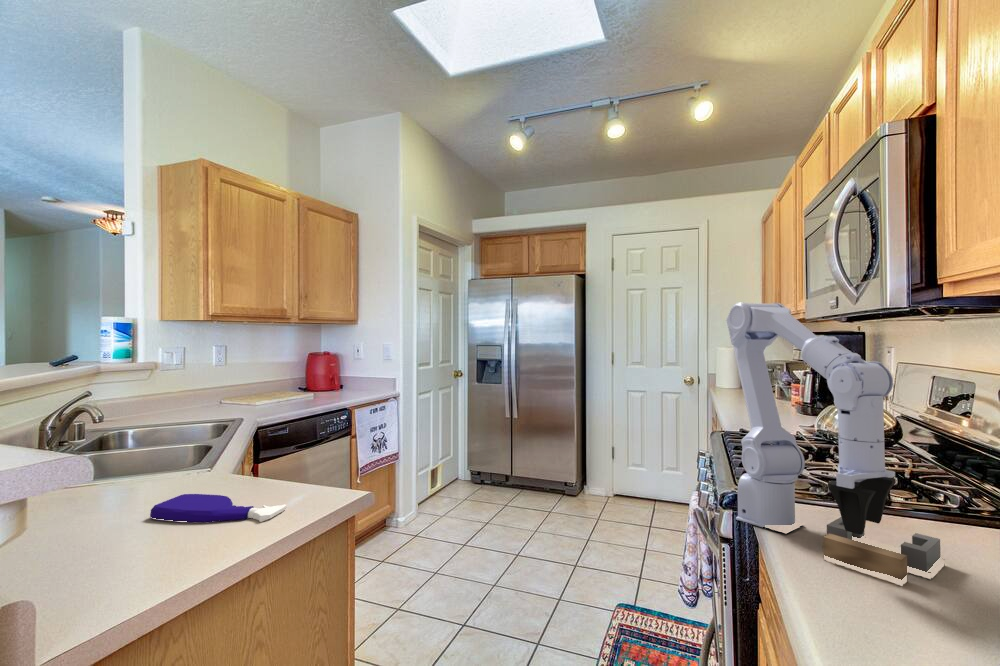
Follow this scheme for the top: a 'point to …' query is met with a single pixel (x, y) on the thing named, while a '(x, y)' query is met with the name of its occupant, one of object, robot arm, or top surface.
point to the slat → (865, 556)
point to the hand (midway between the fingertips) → (863, 526)
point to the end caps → (918, 553)
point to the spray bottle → (209, 509)
